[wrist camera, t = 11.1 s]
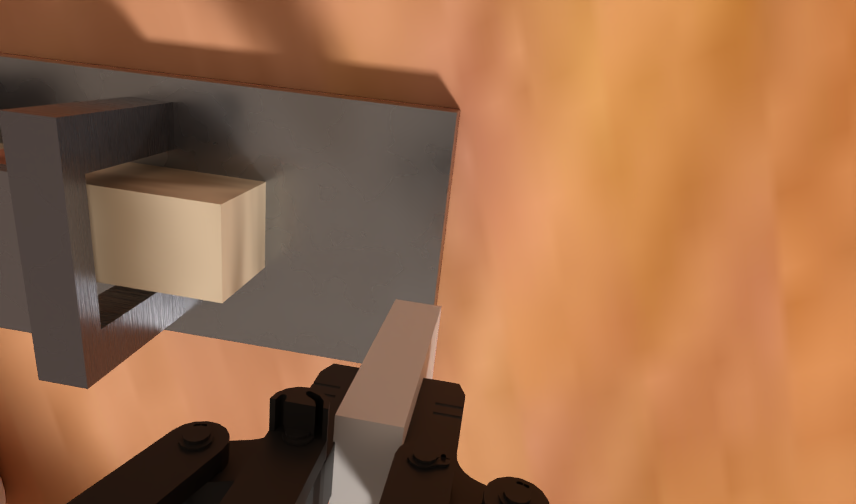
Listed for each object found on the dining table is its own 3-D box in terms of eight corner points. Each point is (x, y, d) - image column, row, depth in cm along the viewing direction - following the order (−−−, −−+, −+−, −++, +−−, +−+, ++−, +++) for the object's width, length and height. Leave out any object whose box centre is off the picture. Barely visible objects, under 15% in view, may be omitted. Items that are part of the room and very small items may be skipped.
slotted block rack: (460, 109, 24) (435, 133, 16) (430, 358, 28) (399, 469, 20) (-168, 32, 27) (-434, 22, 19) (-112, 267, 31) (-314, 334, 23)
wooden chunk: (265, 180, 24) (219, 203, 20) (264, 268, 26) (221, 305, 22) (-144, 121, 26) (-256, 132, 22) (-124, 205, 28) (-227, 229, 24)
